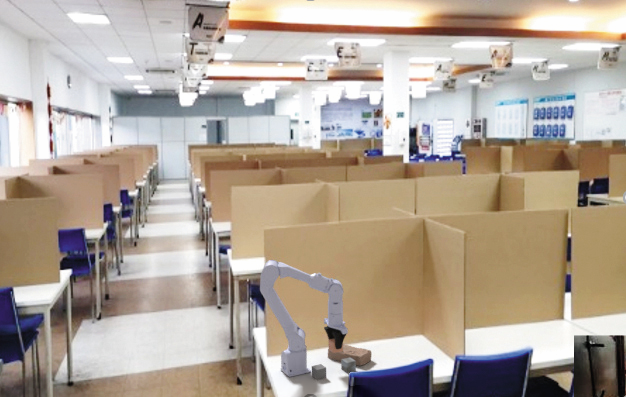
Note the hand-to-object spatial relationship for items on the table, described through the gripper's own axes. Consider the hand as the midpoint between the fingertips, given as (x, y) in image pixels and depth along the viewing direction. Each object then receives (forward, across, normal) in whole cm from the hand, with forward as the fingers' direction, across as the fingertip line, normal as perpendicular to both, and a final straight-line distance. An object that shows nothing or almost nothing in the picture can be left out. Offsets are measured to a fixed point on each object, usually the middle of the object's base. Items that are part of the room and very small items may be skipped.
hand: (335, 346), depth 214 cm
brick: (+10, +7, -10) cm, 16 cm away
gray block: (+10, -2, +8) cm, 13 cm away
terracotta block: (+1, 0, 0) cm, 1 cm away
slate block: (+10, -2, -4) cm, 11 cm away
